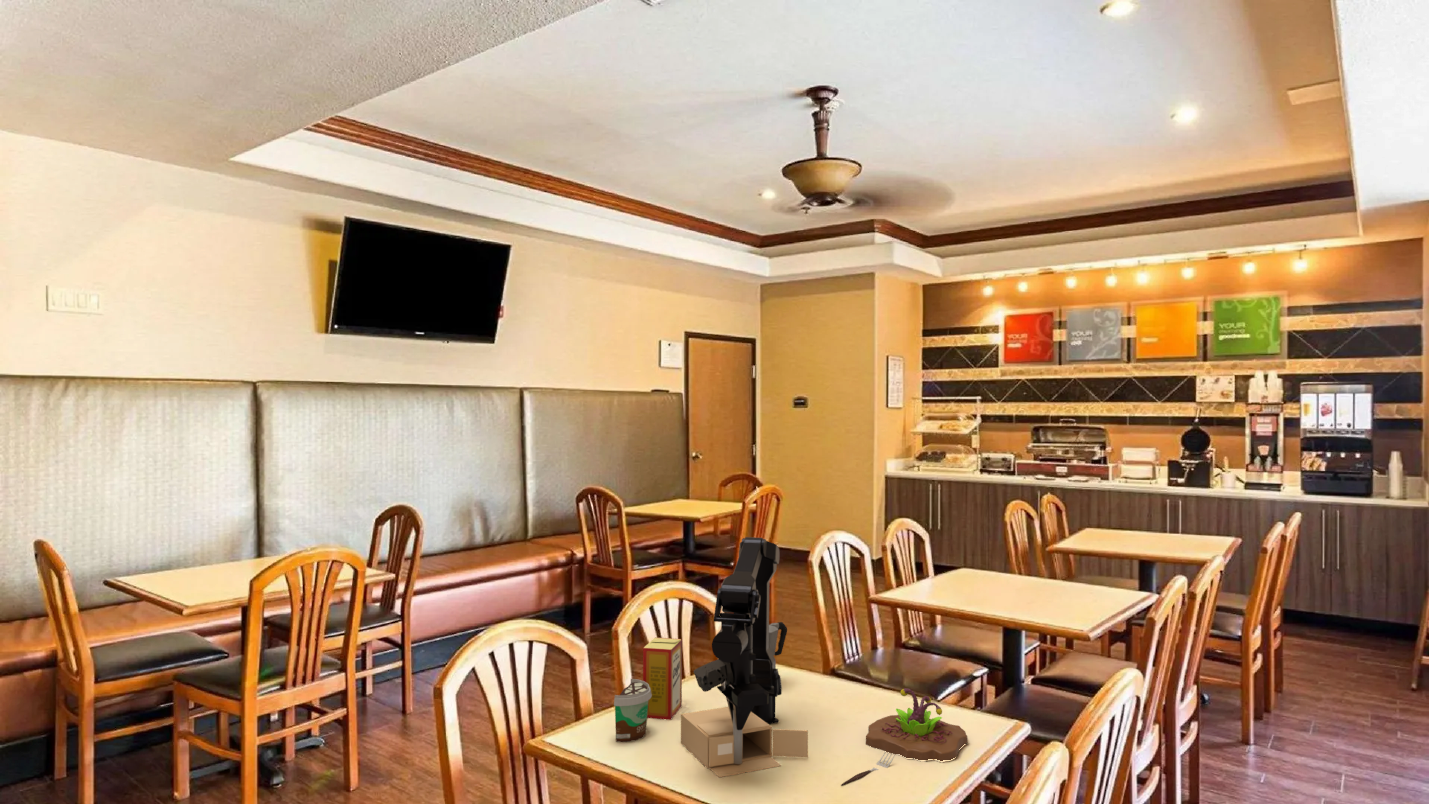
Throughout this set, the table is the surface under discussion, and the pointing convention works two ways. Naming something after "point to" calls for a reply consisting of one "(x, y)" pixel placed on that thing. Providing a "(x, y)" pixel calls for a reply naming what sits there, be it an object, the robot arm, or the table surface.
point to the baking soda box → (663, 676)
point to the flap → (726, 748)
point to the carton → (755, 740)
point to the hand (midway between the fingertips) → (737, 727)
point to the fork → (869, 770)
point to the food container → (632, 711)
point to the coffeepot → (773, 637)
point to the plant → (917, 733)
